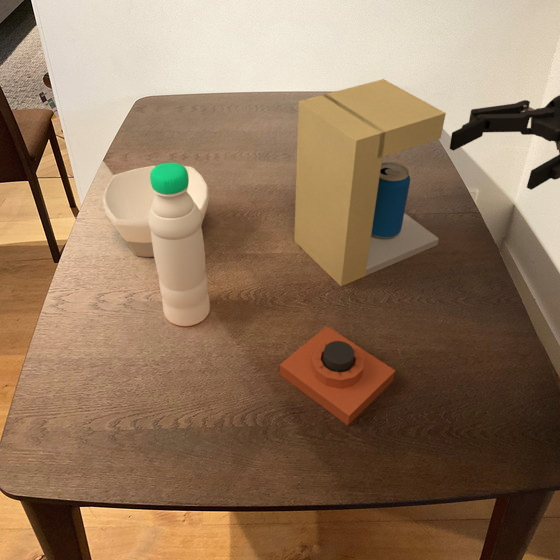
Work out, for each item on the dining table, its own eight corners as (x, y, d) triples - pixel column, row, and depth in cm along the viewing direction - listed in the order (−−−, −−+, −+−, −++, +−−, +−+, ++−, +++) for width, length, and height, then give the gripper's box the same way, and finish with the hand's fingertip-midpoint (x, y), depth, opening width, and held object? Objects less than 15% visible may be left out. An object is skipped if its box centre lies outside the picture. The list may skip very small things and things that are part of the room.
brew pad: (393, 381, 79) (397, 361, 76) (347, 426, 73) (350, 407, 71) (325, 336, 85) (327, 317, 82) (279, 374, 80) (279, 355, 77)
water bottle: (214, 298, 91) (201, 156, 74) (205, 330, 86) (190, 186, 69) (170, 294, 91) (148, 153, 75) (159, 326, 86) (132, 182, 70)
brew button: (359, 360, 77) (360, 351, 76) (340, 377, 75) (341, 368, 74) (335, 344, 79) (336, 336, 78) (316, 361, 77) (317, 352, 76)
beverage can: (371, 215, 106) (379, 157, 98) (405, 225, 103) (416, 166, 95) (358, 234, 101) (366, 175, 93) (394, 245, 99) (404, 185, 91)
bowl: (112, 275, 95) (101, 229, 89) (111, 214, 108) (101, 170, 101) (220, 260, 98) (216, 214, 92) (206, 202, 111) (202, 159, 105)
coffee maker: (437, 245, 102) (471, 105, 84) (340, 286, 93) (356, 140, 76) (386, 206, 110) (407, 72, 93) (294, 241, 102) (298, 100, 85)
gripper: (649, 165, 85) (561, 222, 76) (508, 106, 100) (421, 149, 92) (670, 117, 80) (577, 173, 71) (518, 64, 95) (427, 104, 86)
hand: (489, 160), depth 81 cm, fingers open, 13 cm apart
